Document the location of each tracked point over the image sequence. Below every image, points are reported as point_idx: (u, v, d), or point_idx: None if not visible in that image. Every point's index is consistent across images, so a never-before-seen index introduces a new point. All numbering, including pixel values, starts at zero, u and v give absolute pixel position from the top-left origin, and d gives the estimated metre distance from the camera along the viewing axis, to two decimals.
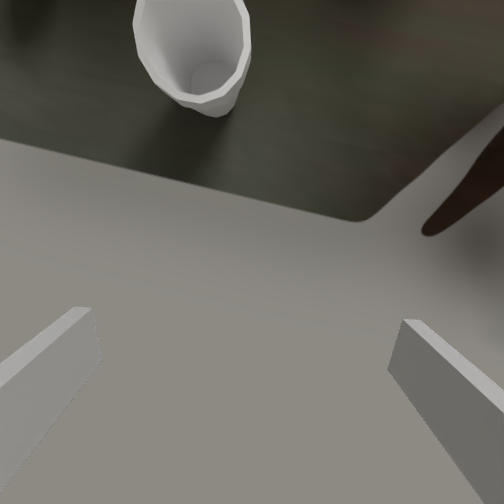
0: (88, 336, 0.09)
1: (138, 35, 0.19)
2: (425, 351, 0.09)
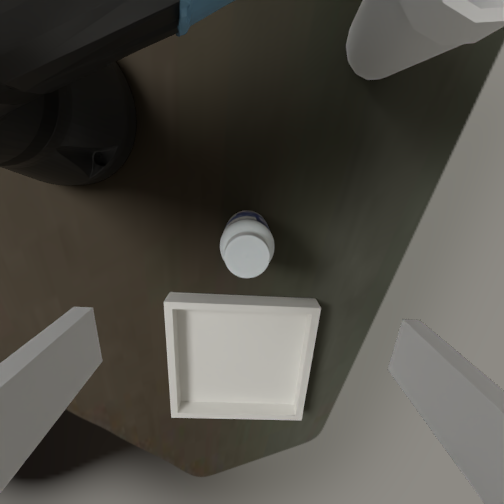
0: (88, 336, 0.09)
1: (491, 14, 0.13)
2: (425, 351, 0.09)
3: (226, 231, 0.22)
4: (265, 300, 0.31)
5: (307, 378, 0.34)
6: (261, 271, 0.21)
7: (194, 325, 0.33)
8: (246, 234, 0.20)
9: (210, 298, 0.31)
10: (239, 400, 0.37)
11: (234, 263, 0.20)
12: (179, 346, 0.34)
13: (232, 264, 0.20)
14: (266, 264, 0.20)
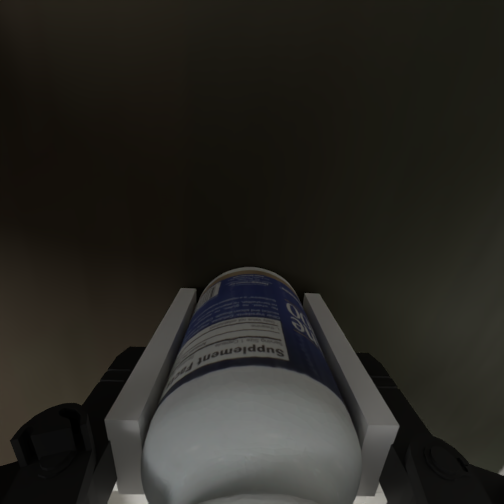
0: None
1: None
2: (311, 316, 0.10)
3: (160, 431, 0.05)
4: None
5: None
6: None
7: None
8: None
9: None
10: None
11: None
12: None
13: None
14: None
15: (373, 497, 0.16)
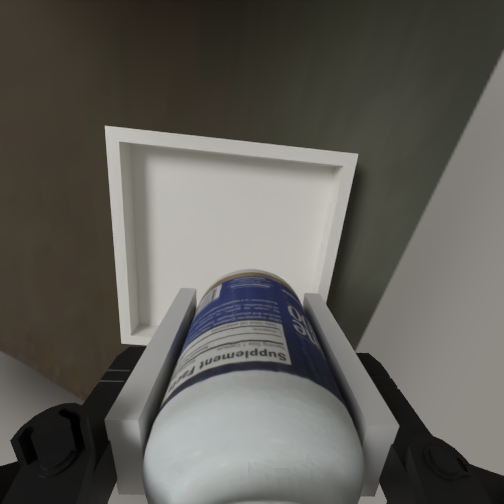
0: (194, 312, 0.11)
1: None
2: (311, 316, 0.10)
3: (162, 436, 0.05)
4: None
5: (328, 284, 0.22)
6: None
7: (158, 191, 0.21)
8: None
9: None
10: None
11: None
12: (136, 229, 0.22)
13: None
14: None
15: (330, 204, 0.21)
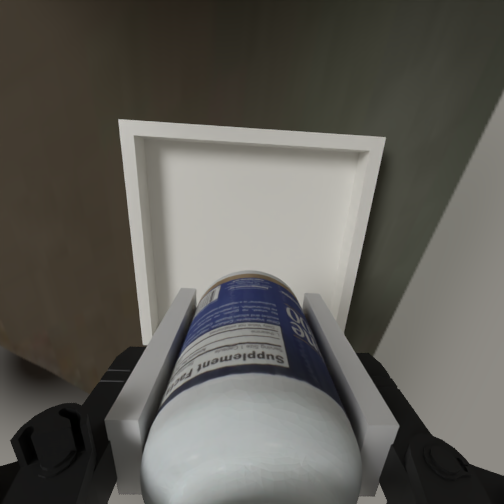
0: (194, 312, 0.11)
1: None
2: (311, 316, 0.10)
3: (160, 439, 0.05)
4: None
5: (353, 276, 0.22)
6: None
7: (175, 187, 0.21)
8: None
9: None
10: None
11: None
12: (152, 227, 0.22)
13: None
14: None
15: (354, 192, 0.20)
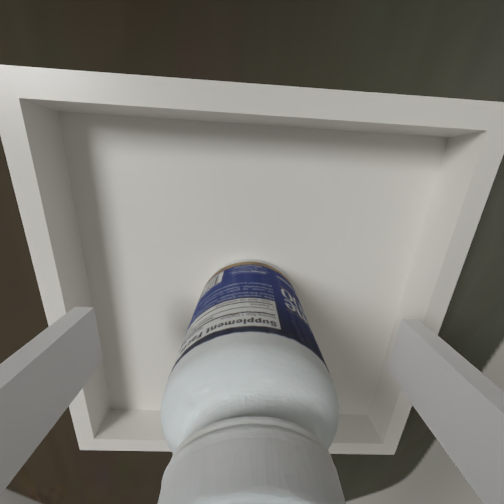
0: (89, 336, 0.09)
1: None
2: (424, 351, 0.09)
3: (178, 381, 0.06)
4: None
5: None
6: None
7: (121, 199, 0.12)
8: (249, 478, 0.04)
9: None
10: None
11: None
12: (88, 265, 0.13)
13: None
14: None
15: (436, 207, 0.12)
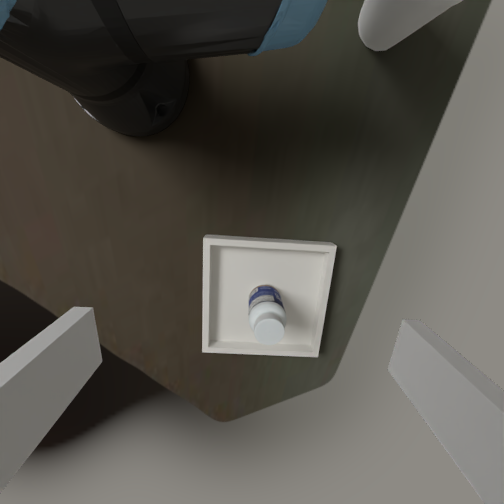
0: (88, 336, 0.09)
1: None
2: (425, 351, 0.09)
3: (254, 310, 0.32)
4: (288, 241, 0.36)
5: (324, 314, 0.38)
6: (278, 341, 0.31)
7: (226, 265, 0.38)
8: (269, 317, 0.30)
9: (241, 238, 0.36)
10: None
11: (260, 336, 0.30)
12: (211, 285, 0.39)
13: (259, 336, 0.30)
14: (282, 336, 0.30)
15: (323, 268, 0.38)
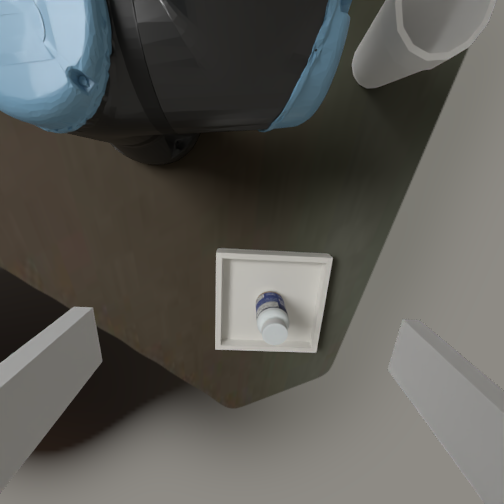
0: (88, 336, 0.09)
1: (435, 56, 0.23)
2: (425, 351, 0.09)
3: (261, 315, 0.38)
4: (290, 253, 0.41)
5: (321, 316, 0.44)
6: (282, 341, 0.36)
7: (235, 274, 0.43)
8: (274, 322, 0.35)
9: (249, 251, 0.41)
10: None
11: (267, 337, 0.36)
12: (223, 291, 0.44)
13: (266, 338, 0.36)
14: (285, 338, 0.36)
15: (321, 276, 0.43)
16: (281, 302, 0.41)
